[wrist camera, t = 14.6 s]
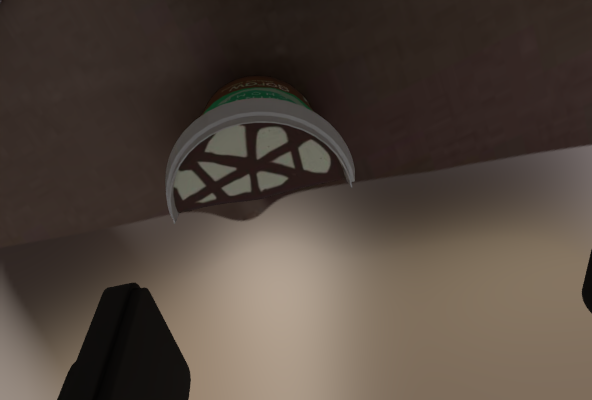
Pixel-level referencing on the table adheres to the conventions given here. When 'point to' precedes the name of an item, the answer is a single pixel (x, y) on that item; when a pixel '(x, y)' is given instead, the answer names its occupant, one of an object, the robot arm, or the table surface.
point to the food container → (253, 148)
